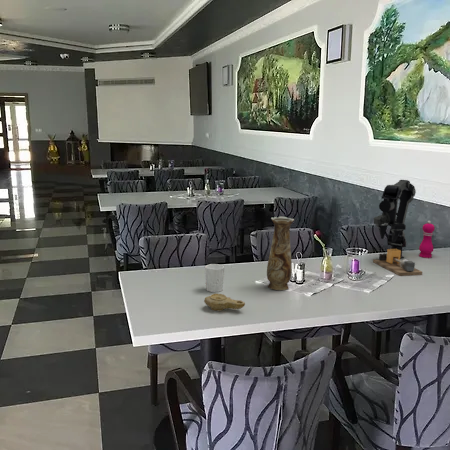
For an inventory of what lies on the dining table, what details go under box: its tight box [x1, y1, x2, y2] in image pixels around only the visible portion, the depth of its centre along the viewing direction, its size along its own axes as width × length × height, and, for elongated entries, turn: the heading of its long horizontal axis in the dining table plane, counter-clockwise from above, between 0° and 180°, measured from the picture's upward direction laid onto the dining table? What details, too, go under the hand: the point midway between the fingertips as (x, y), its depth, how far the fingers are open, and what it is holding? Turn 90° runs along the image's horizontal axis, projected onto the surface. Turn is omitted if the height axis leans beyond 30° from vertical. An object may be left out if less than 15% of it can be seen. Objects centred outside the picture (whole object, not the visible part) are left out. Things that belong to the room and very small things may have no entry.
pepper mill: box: [418, 220, 435, 259], centre depth 262 cm, size 7×7×20 cm
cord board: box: [372, 252, 423, 277], centre depth 239 cm, size 24×12×6 cm, turn 13°
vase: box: [266, 215, 295, 291], centre depth 204 cm, size 10×11×30 cm
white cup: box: [204, 263, 225, 293], centre depth 201 cm, size 8×8×10 cm
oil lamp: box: [203, 293, 246, 312], centre depth 180 cm, size 11×14×5 cm
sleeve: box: [386, 248, 401, 264], centre depth 242 cm, size 4×5×6 cm
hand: (387, 240), depth 246 cm, fingers open, 9 cm apart
